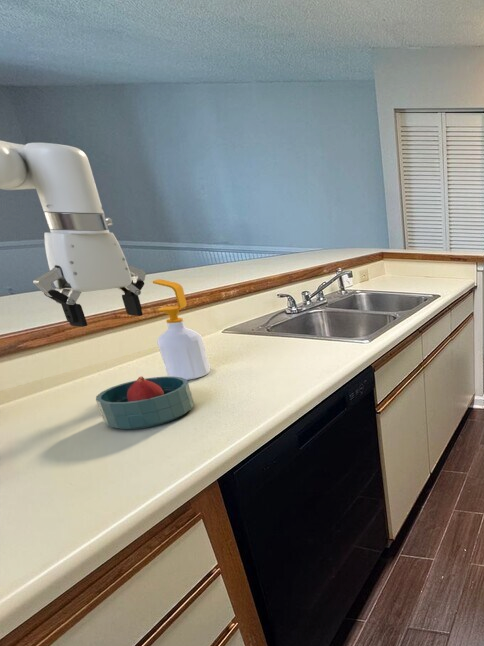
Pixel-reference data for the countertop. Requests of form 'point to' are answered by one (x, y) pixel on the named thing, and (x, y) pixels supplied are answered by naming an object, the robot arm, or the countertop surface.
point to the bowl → (145, 404)
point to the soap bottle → (181, 342)
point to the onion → (143, 390)
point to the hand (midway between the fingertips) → (108, 320)
